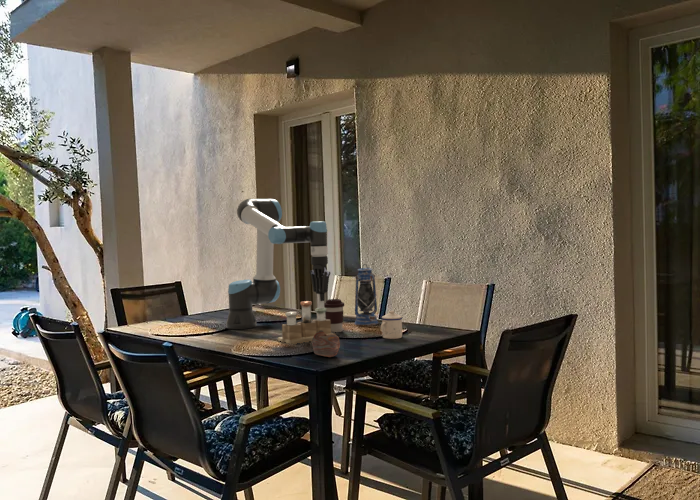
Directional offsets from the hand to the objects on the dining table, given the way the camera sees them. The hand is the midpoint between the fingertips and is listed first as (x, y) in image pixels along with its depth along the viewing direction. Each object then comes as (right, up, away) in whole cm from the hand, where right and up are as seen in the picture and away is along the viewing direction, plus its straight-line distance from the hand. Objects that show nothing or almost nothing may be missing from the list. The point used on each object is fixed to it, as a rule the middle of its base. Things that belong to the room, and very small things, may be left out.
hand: (320, 307), depth 272 cm
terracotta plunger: (-6, -7, -5) cm, 10 cm away
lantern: (+21, -11, +33) cm, 41 cm away
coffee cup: (+6, -13, +13) cm, 19 cm away
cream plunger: (-12, -11, -10) cm, 19 cm away
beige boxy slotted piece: (-6, -13, -4) cm, 15 cm away
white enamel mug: (+31, -13, -7) cm, 34 cm away
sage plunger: (0, -10, 0) cm, 10 cm away
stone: (+5, -15, -40) cm, 43 cm away
